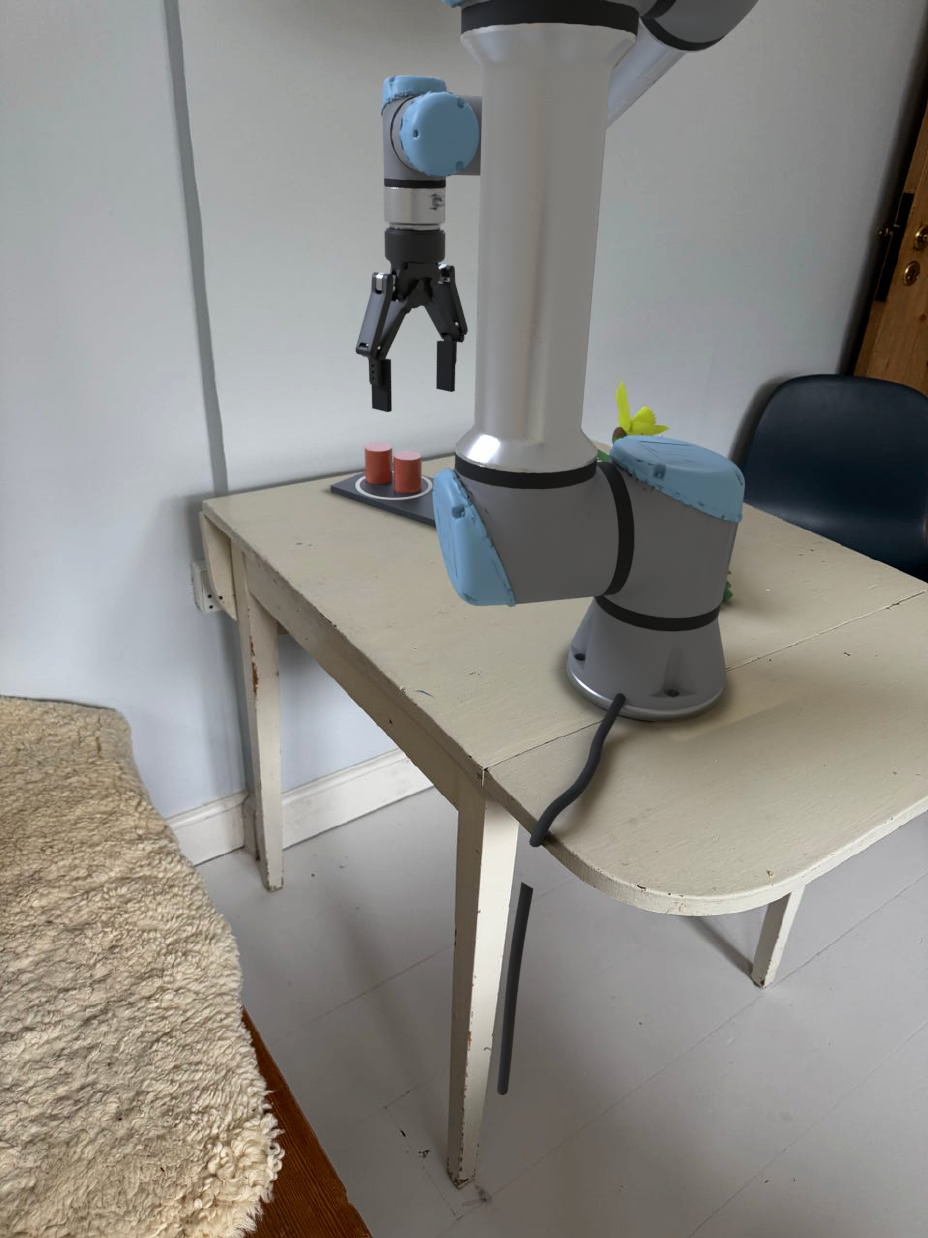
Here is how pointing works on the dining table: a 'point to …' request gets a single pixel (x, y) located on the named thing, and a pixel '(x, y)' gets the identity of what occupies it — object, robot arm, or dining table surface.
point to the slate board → (391, 497)
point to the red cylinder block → (407, 472)
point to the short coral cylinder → (378, 463)
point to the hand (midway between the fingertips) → (415, 399)
